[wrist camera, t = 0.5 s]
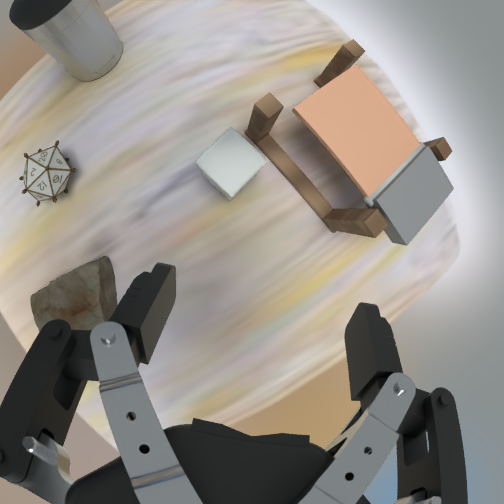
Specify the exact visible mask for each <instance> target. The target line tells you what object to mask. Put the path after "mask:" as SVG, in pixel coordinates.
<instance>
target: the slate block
mask: <svg viewBox="0 0 504 504" xmlns="http://www.w3.org/2000/svg"><path fill="white" fill-rule="evenodd" d="M266 162H267V160H266V159H265V158H264V157H263V156H262V155H261V154H260V153H259V152H258V151H257V150H256V149H255V148H254V147H253V146H252V145H250V144H249V143H248V142H247V141H246V140H245V139H244V138H243V137H242V136H241V135H240V134H238V133H237V132H236V131H235V130H234V129H233V128H232V127H230V128H229V129H228V130H227V131H226V132H225V133H223V134H222V135H221V136H220V137H219V138H218V139H217V140H216V141H215V142H214V143H213V144H212V145H211V146H210V147H209V148H208V149H207V150H206V151H205V152H204V153H203V154H202V155H201V156H200V157H199V158H198V159H197V160H196V161H195V164H196V165H197V167H198V169H199V170H200V172H201V173H202V175H203V176H204V177H205V178H206V179H207V180H208V181H209V182H210V183H211V184H212V185H213V186H215V187H216V188H217V189H218V190H219V191H220V192H221V193H222V194H223V195H224V196H225V197H226V198H227V199H228V200H229V201H231V200H232V199H233V198H234V197H235V196H236V195H237V194H238V193H239V192H240V191H241V190H242V189H243V188H244V187H245V186H246V184H247V183H248V182H249V181H250V180H251V179H252V178H253V177H254V176H255V175H256V174H257V173H258V172H259V171H260V169H261V168H262V167H263V166H264V165H265V163H266Z"/></svg>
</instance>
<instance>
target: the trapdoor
mask: <svg viewBox="0 0 504 504" xmlns="http://www.w3.org/2000/svg"><path fill="white" fill-rule="evenodd" d="M292 111H293V112H294V113H295V114H296V115H297V116H298V117H299V118H300V119H301V121H302V122H303V123H304V124H305V125H306V126H307V127H308V128H309V129H310V130H311V132H312V133H313V134H314V135H315V136H316V137H317V138H318V139H319V141H320V142H321V143H322V144H323V145H324V146H325V148H326V149H327V150H328V151H329V152H330V153H331V155H332V156H333V157H334V158H335V159H336V161H337V162H338V163H339V164H340V166H341V167H342V168H343V169H344V171H345V172H346V173H347V174H348V176H349V177H350V178H351V179H352V181H353V182H354V183H355V185H356V186H357V187H358V188H359V190H360V191H361V192H362V194H363V195H364V196H365V197H364V198H363V200H364V201H363V202H364V203H365V204H366V206H367V207H368V208H369V209H378V210H379V212H380V213H381V215H382V216H383V217H384V219H385V220H386V222H387V223H388V225H387V226H386V227H385V229H384V231H385V232H386V234H387V235H388V237H389V238H390V240H391V241H392V243H397V244H402V245H408V244H409V242H410V241H411V240H412V239H413V238H414V237H415V236H416V234H417V233H418V232H419V231H420V230H421V229H422V227H423V226H424V225H425V224H426V223H427V222H428V220H429V219H430V218H431V217H432V216H433V214H434V213H435V212H436V211H437V209H438V208H439V207H440V206H441V204H442V203H443V202H444V201H445V199H446V198H447V197H448V195H449V194H450V193H451V192H452V190H453V186H452V185H451V183H450V181H449V179H448V177H447V176H446V174H445V172H444V170H443V169H442V167H441V165H440V164H439V162H438V160H437V159H436V157H435V155H434V154H433V152H432V151H431V149H430V148H429V146H426V147H425V145H424V144H423V143H421V142H419V141H418V140H417V138H416V137H415V135H414V134H413V132H412V131H411V130H410V128H409V127H408V126H407V124H406V123H405V121H404V120H403V119H402V117H401V116H400V115H399V113H398V112H397V111H396V110H395V108H394V107H393V106H392V105H391V103H390V102H389V101H388V100H387V98H386V97H385V96H384V95H383V94H382V92H381V91H380V90H379V89H378V88H377V86H376V85H375V84H374V83H373V82H372V81H371V80H370V79H369V77H368V76H367V75H366V74H365V73H364V72H363V71H362V70H361V69H360V68H359V67H358V66H357V64H355V65H354V66H352V67H351V68H349V69H348V70H346V71H345V72H343V73H342V74H340V75H339V76H337V77H336V78H335V79H333V80H332V81H330V82H329V83H327V84H326V85H324V86H323V87H322V88H320V89H319V90H317V91H316V92H315V93H313V94H312V95H310V96H309V97H308V98H306V99H305V100H304V101H302V102H301V103H300V104H298V105H297V106H296V107H294V108H293V110H292Z"/></svg>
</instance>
